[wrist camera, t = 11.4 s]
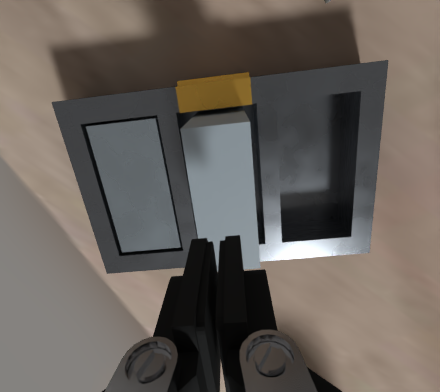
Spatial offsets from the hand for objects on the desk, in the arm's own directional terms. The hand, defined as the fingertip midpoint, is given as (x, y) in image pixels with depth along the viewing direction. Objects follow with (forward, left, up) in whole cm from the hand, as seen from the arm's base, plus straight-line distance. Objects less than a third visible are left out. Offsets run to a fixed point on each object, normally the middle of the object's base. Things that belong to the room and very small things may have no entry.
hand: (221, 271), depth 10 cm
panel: (0, -1, -12) cm, 13 cm away
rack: (0, 0, -13) cm, 13 cm away
